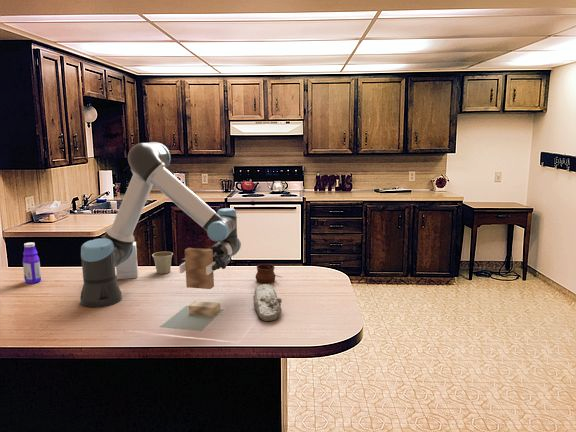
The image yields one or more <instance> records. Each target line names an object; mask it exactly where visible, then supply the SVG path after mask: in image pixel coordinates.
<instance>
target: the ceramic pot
mask: <svg viewBox="0 0 576 432" xmlns="http://www.w3.org/2000/svg"><path fill="white" fill-rule="evenodd" d="M256 271H257V273H256V274H255V279H256V282H257V283H258V284H262V285H263V284H268V285H270V284H273V283H275V281H276V280H275V279H276V277H279V278H282V276H280V275H277V274H275V272H274V271H275V265H273V264H271V263H267V264H258V265H256Z"/></svg>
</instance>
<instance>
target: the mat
mask: <svg viewBox="0 0 576 432" xmlns="http://www.w3.org/2000/svg"><path fill="white" fill-rule="evenodd" d="M223 311H224V308H221V311H220V312H219V313H218V314H217V315H216V316H209V315H199V314H189V305H185V306H184V307H182V308H181V309H180V310H178V312H176V313H175V314H174V315H173V316H171V317H170V318H169V319H167V320H166V321H165V322H164V323H162V324H161V325H160V326H159V327H160V328H166V329H176V330H178V329H179V330H187V331H198V332H202V331H203V330H204V329H205V328H206V327H208V325H209V324H211V322H213V320H215V318H217V317H218V315H220V314H221V313H222V312H223Z"/></svg>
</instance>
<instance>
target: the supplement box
mask: <svg viewBox="0 0 576 432" xmlns="http://www.w3.org/2000/svg"><path fill="white" fill-rule="evenodd" d="M137 252H138V250H137V241H134V242H133V252H132V254H131V256H130V257H129V258H128V259H127V260H126V261H124V262H122V263H121V264H119V265H117V266H116V267H115V272H116V280H122V279H136V278H138V275H139V270H138V253H137Z"/></svg>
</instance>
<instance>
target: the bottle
mask: <svg viewBox="0 0 576 432" xmlns="http://www.w3.org/2000/svg"><path fill="white" fill-rule="evenodd" d="M35 245H36V244H35V242H26V243H25V242H24V244H23V246H24V248H23V249H24V250H23V253H22V255H23V258H22V266H23V267H22V269H23V278H24V281H25V283H28V284H37V283H40V282H41V281H42V274H41V273H42V272H41V262H40V257H39V256H38V253H39V252H38V251H37V248H36V246H35Z"/></svg>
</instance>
